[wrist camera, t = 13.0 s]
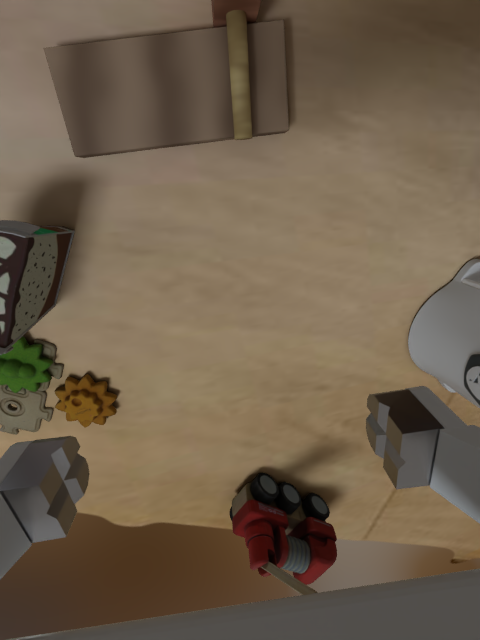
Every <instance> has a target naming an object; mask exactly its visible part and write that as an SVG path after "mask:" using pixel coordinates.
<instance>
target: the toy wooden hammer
mask: <svg viewBox="0 0 480 640" xmlns="http://www.w3.org/2000/svg"><path fill="white" fill-rule="evenodd" d="M211 1H212V14H213V26H214V28H218V27H226V26H227V38H228V52H229V66H230V81H231V95H232V110H233V124H234V138H235V140H245V139H251V138H252V122H251V102H250V82H249V62H248V42H247V24H252V23H256V19H257V15H258V11H259V7H260V3H261V0H211Z"/></svg>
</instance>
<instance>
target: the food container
mask: <svg viewBox="0 0 480 640" xmlns="http://www.w3.org/2000/svg"><path fill="white" fill-rule="evenodd" d="M74 232H75V230H72V229H69V228H66V227H61V226H36V225H33V224H30V223H25V222H19V221H8V220H1V221H0V355H2V354H3V353H4V354H6V353H8V352H9V351H11V350H13V349H14V348H13V347H11V346H12V345H13V344H15V343H16V342H17V341H18V340H19V339H20V338H21V337H22V336H23V335H24V334H25V333H26V332H28V331H29V330H30V329H31V328H32V327H33V326H34V325H35V324H36V323H37V322H38V321H39V320H41V319H42V318H43V317H44V316H45V315H46V314H47V313H48V312H49V311H50V310H51V309H52V308H54V307H55V305H56V302H57V298H58V294H59V290H60V286H61V282H62V278H63V274H64V271H65V267H66V263H67V259H68V255H69V251H70V247H71V244H72V240H73V236H74Z"/></svg>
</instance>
